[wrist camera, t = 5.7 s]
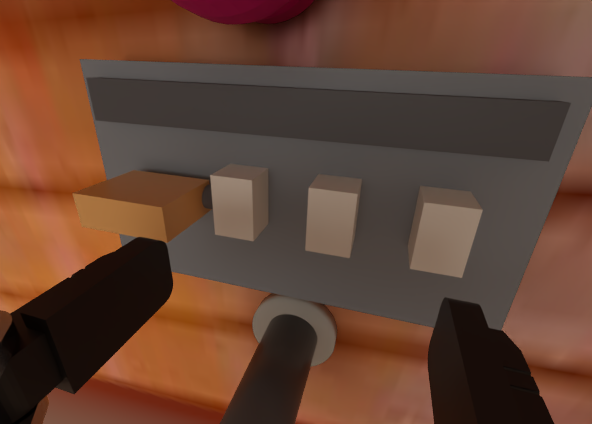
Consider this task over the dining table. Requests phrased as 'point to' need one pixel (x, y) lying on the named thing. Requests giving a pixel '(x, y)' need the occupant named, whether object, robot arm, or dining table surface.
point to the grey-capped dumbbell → (281, 360)
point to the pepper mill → (245, 10)
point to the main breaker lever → (144, 204)
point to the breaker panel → (349, 175)
